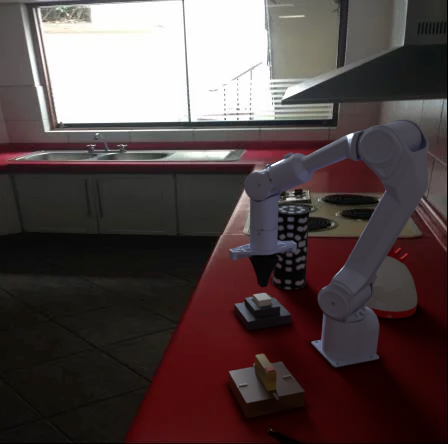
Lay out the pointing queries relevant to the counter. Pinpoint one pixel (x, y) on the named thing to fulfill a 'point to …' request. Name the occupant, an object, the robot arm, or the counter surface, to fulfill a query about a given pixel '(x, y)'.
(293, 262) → the white-spotted black cylinder
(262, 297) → the white square block
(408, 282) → the kitchen timer
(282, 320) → the grey stepped block
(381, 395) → the counter surface
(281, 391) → the panel
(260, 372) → the yellow rectangular block
